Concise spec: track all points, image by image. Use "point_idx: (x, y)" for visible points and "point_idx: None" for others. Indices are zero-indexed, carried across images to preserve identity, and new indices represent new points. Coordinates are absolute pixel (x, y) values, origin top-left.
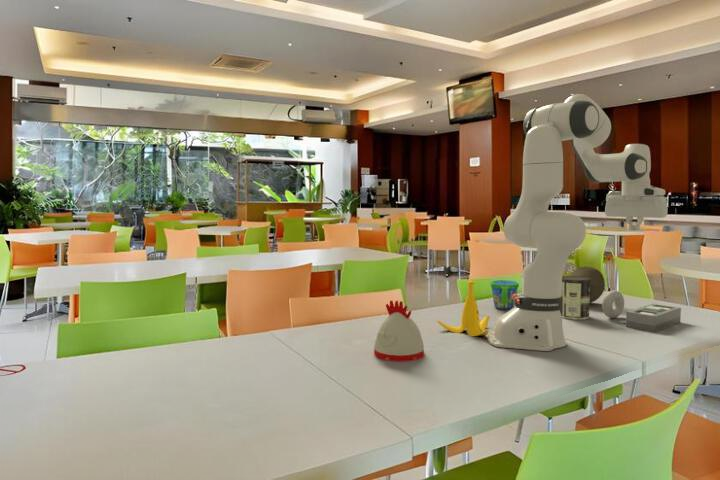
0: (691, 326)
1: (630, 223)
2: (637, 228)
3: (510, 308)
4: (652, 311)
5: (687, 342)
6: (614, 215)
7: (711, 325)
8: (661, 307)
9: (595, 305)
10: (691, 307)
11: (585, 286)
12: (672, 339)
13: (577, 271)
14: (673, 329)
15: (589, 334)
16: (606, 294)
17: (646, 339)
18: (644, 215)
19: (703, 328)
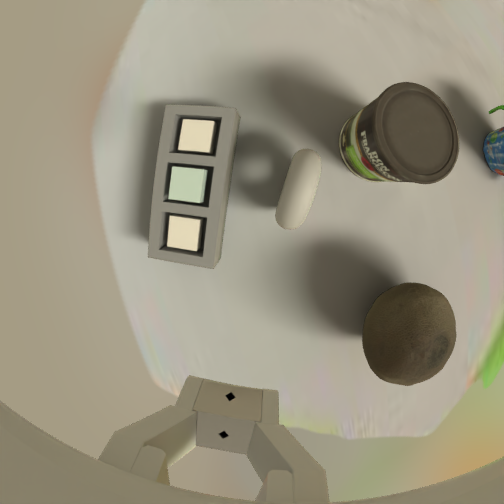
0: (135, 222)
1: (264, 440)
2: (186, 383)
3: (484, 141)
4: (184, 158)
5: (119, 84)
6: (480, 475)
7: (114, 258)
8: (188, 247)
9: (367, 311)
10: None
11: (370, 109)
12: (141, 83)
13: (447, 322)
14: (154, 165)
15: (277, 16)
16: (315, 164)
17: (179, 49)
18: (17, 432)
19: (116, 219)
